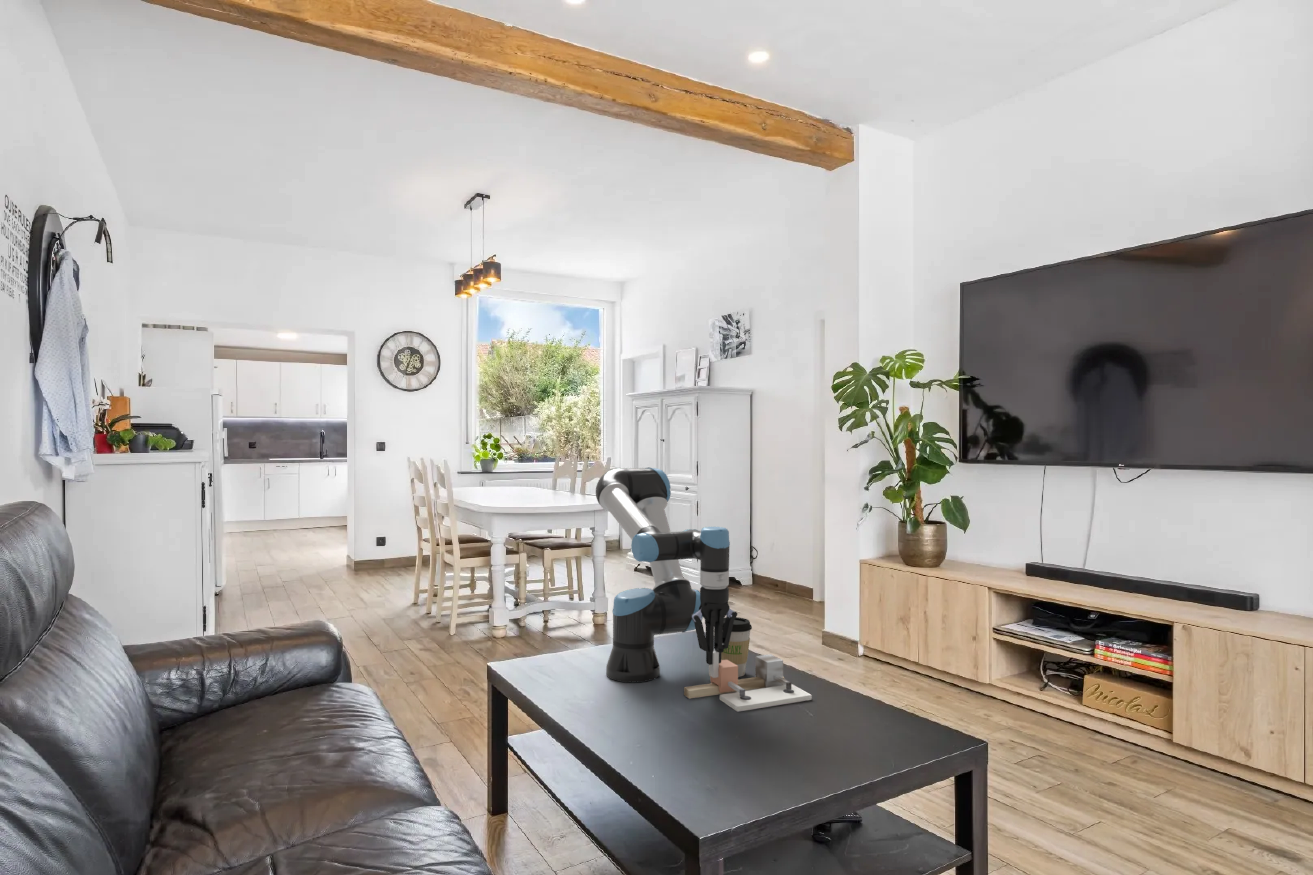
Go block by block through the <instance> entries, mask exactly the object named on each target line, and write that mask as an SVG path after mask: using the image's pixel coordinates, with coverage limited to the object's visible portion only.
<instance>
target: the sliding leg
mask: <svg viewBox="0 0 1313 875" xmlns="http://www.w3.org/2000/svg"><path fill="white" fill-rule="evenodd" d="M709 677H710V678H709V680H710V683H715V684H717V685H718V686H719V692H720V693H722V692H729V691H737V692H739V696H741V697H744V696H745V691H746V690H745V689H743V688H741V687H740V686H738V680H739V677H738V666H737V665H736V664H734V663H732V662H730V661H729V660H721V663H719V677H717V678H713V677H711V676H710V675H709Z"/></svg>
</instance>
